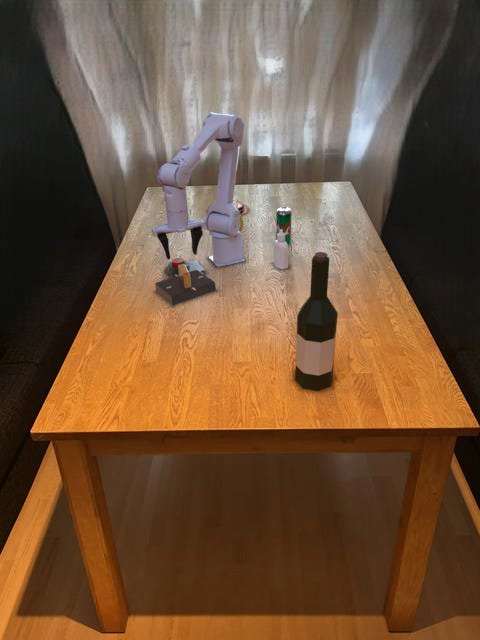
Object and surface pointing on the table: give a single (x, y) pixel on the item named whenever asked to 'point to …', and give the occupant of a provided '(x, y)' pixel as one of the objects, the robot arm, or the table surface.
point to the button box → (189, 266)
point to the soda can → (284, 222)
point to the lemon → (241, 223)
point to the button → (177, 262)
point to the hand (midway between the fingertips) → (181, 255)
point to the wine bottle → (316, 331)
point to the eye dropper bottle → (281, 251)
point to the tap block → (178, 293)
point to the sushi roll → (239, 207)
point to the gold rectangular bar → (184, 276)
